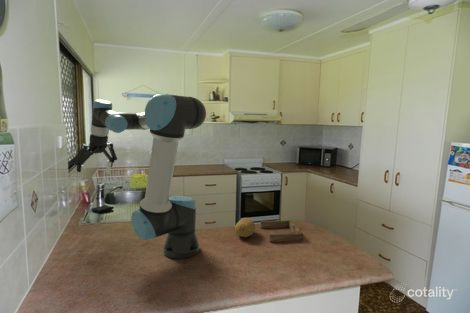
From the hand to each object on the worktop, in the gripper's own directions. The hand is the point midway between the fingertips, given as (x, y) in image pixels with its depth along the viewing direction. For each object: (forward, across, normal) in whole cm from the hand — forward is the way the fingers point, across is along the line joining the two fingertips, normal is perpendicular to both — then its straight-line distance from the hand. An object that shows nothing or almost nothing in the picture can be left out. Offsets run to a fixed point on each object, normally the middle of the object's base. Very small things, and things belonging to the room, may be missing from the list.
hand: (94, 175), depth 136 cm
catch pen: (+4, -53, +79) cm, 95 cm away
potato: (+8, -41, +66) cm, 78 cm away
